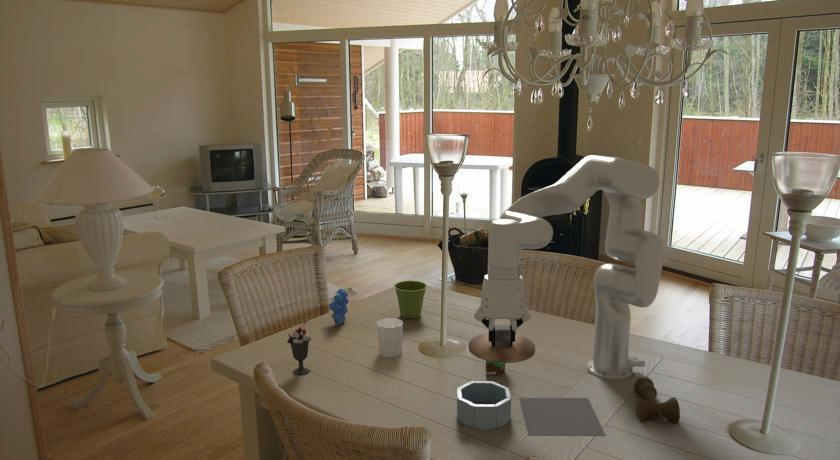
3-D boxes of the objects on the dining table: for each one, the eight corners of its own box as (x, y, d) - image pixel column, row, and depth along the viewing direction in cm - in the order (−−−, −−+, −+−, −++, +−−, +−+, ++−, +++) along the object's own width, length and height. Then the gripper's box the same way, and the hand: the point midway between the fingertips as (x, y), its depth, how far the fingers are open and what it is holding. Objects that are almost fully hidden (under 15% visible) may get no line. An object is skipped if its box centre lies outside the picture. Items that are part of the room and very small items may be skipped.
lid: (529, 336, 162) (530, 315, 161) (540, 363, 147) (541, 340, 145) (466, 335, 162) (467, 315, 161) (470, 362, 147) (471, 340, 146)
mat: (587, 399, 167) (588, 397, 167) (605, 437, 150) (605, 435, 150) (519, 399, 168) (519, 397, 168) (528, 437, 150) (528, 435, 150)
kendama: (661, 395, 170) (685, 434, 151) (624, 395, 171) (643, 434, 151) (662, 374, 169) (686, 411, 149) (625, 374, 170) (644, 410, 150)
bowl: (506, 404, 165) (507, 381, 164) (512, 431, 153) (513, 406, 151) (456, 403, 166) (456, 381, 164) (458, 430, 153) (458, 406, 152)
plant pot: (415, 324, 220) (415, 293, 217) (387, 317, 226) (387, 287, 224) (433, 313, 230) (433, 283, 227) (406, 307, 236) (406, 278, 233)
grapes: (335, 315, 228) (333, 283, 226) (353, 317, 227) (351, 285, 224) (323, 327, 217) (321, 294, 215) (342, 329, 216) (340, 295, 213)
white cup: (373, 356, 195) (372, 325, 192) (384, 346, 202) (383, 316, 200) (397, 360, 192) (396, 329, 190) (407, 350, 199) (406, 319, 197)
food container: (507, 381, 178) (507, 348, 175) (485, 379, 179) (485, 346, 177) (510, 362, 190) (510, 330, 187) (489, 360, 191) (489, 329, 188)
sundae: (317, 369, 187) (315, 320, 183) (304, 378, 181) (301, 329, 177) (298, 365, 189) (296, 317, 186) (285, 374, 183) (281, 325, 180)
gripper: (536, 267, 154) (533, 338, 158) (467, 267, 154) (466, 338, 158) (541, 276, 146) (538, 350, 151) (469, 276, 147) (468, 350, 151)
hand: (501, 343), depth 154 cm, fingers closed on lid, 3 cm apart
